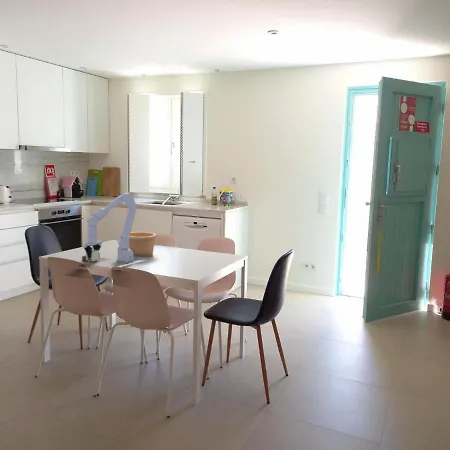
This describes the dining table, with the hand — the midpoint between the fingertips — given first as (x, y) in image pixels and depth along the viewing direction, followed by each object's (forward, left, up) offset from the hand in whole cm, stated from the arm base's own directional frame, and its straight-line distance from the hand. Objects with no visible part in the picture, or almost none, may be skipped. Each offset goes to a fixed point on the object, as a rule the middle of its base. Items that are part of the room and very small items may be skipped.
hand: (92, 257), depth 281 cm
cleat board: (0, -3, -4) cm, 5 cm away
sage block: (0, 0, -2) cm, 2 cm away
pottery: (-8, -36, -4) cm, 38 cm away
